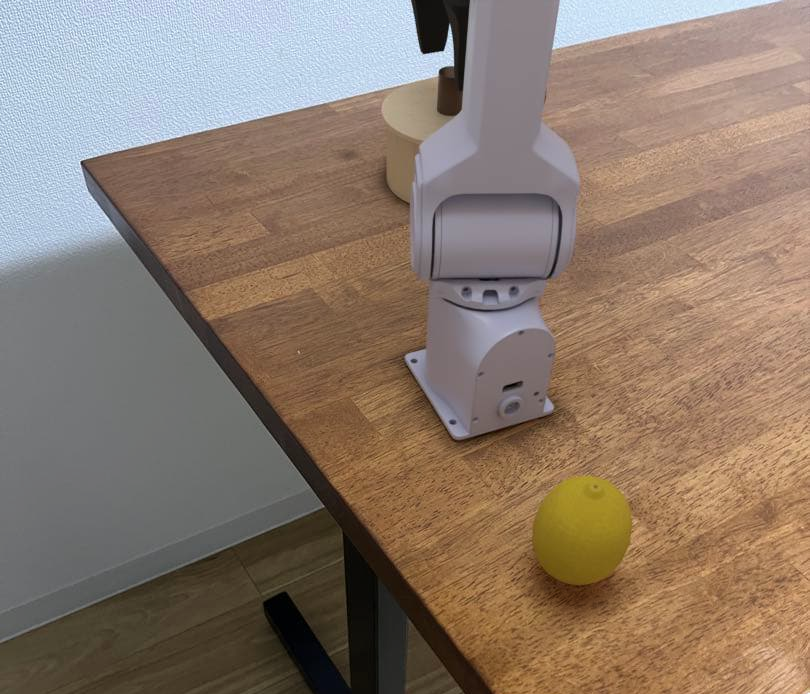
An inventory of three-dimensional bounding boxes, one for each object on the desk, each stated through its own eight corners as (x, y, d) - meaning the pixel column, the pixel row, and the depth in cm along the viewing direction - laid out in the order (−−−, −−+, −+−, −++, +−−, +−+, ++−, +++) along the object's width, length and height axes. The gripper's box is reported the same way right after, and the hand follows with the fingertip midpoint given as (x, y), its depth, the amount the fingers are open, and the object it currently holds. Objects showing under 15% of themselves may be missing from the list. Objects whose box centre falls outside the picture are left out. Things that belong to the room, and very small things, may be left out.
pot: (525, 197, 76) (535, 133, 71) (414, 221, 73) (416, 156, 68) (473, 141, 82) (479, 79, 78) (369, 161, 79) (368, 98, 75)
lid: (541, 142, 72) (549, 91, 68) (413, 167, 68) (414, 115, 65) (480, 82, 78) (485, 34, 75) (361, 103, 75) (360, 53, 72)
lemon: (611, 617, 48) (646, 534, 41) (518, 600, 48) (539, 516, 42) (615, 544, 51) (648, 457, 45) (528, 529, 52) (548, 442, 45)
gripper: (558, -106, 56) (530, 98, 67) (468, -160, 64) (456, 30, 75) (466, -96, 54) (453, 112, 65) (386, -153, 62) (386, 40, 73)
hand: (450, 69), depth 70 cm, fingers open, 7 cm apart
